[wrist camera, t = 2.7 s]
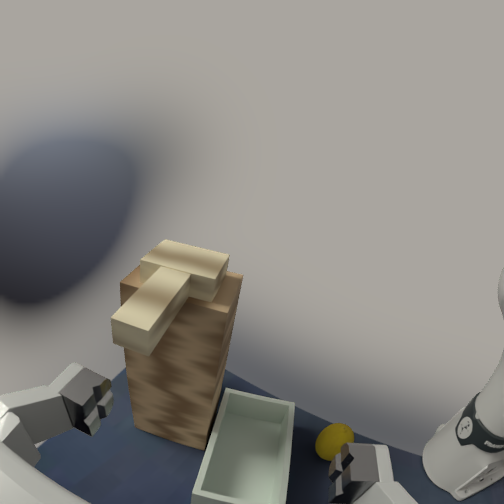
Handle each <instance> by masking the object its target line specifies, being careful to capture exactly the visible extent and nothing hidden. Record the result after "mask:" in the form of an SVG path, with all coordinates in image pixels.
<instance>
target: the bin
mask: <svg viewBox="0 0 504 504" xmlns="http://www.w3.org/2000/svg"><path fill="white" fill-rule="evenodd" d="M294 408H295V403H294V402H288V401H283V400H278V399H273V398H268V397H263V396H259V395H254V394H250V393H246V392H241V391H237V390H233V389H229V388H226V389H225V392H224V395H223V399H222V402H221V405H220V408H219V411H218V414H217V418H216V421H215V424H214V427H213V430H212V433H211V436H210V440H209V443H208V446H207V449H206V452H205V455H204V458H203V461H202V464H201V467H200V470H199V474H198V477H197V480H196V483H195V486H194V489H193V492H192V498H191V504H285V503H286V495H287V486H288V477H289V467H290V457H291V446H292V434H293V422H294Z"/></svg>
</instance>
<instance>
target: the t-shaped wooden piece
mask: <svg viewBox="0 0 504 504" xmlns="http://www.w3.org/2000/svg"><path fill="white" fill-rule="evenodd" d="M229 256H230V255H229V254H225V253H221V252H216V251H212V250H208V249H204V248H199V247H196V246H191V245H187V244H183V243H178V242H175V241H171V240H166V239H165V240H164V241H162V242H161V243H160V244H159V245H158V246H156V247H155V248H154V249H153V250H151V251H150V252H149V253H148V254H147V255H145V256H144V257H143V258H142V259H140V283H144V284H143V285H142V286H141V287H140V288H139V289H138V290H137V291H136V292H135V293H134V294H133V295H132V296H131V297H130V298H129V299H128V300H127V301H126V302H125V303H124V304H123V305H122V306H121V307H120V309H119V310H118V311H117V312H116V313H115V314H114V315H113V316H112V317H111V326H112V336H113V343H114V344H117V345H119V346H122V347H124V348H127V349H129V350H132V351H135V352H138V353H140V354H143V355H146V356H150V354H151V353H152V351H153V350H154V348H155V347H156V345H157V344H158V342H159V341H160V339H161V338H162V336H163V334H164V333H165V331H166V330H167V328H168V327H169V325H170V324H171V322H172V321H173V319H174V318H175V316H176V315H177V313H178V312H179V310H180V309H181V307H182V306H183V304H184V303H185V302H186V300H187V299H188V297H193V298H196V299H200V300H204V301H208V302H211V303H212V301H213V299H214V297H215V295H216V293H217V292H218V290H219V288H220V286H221V284H222V282H223V280H224V278H225V276H226V273H227V267H228V261H229Z"/></svg>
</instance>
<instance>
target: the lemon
mask: <svg viewBox="0 0 504 504" xmlns="http://www.w3.org/2000/svg"><path fill="white" fill-rule="evenodd" d="M346 442H347V443H353V442H354V433H353V431H352V429H351V428H350V427H349V426H347V425H345V424H341V423H335V424H331V425H329V426H328V427H326V428H325V429H324V430H323V431H322V432H321V433H320V434H319V435H318V437H317V440H316V444H315V448H316V452H317V454H318V455H319V456H320V457H321V458H323V459H325V460H328V461H332V459H333V458H334V456H335V455H337V454H339V453H341V447H342V446H343V444H345V443H346Z"/></svg>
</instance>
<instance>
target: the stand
mask: <svg viewBox="0 0 504 504" xmlns="http://www.w3.org/2000/svg"><path fill="white" fill-rule="evenodd" d="M242 279H243V275H241V274H237V273H233V272H228V271H227V273H226V276H225V278H224V280H223V282H222V284H221V286H220V288H219V290H218V292H217V293H216V295H215V297H214V299H213V301H212V303H211V302H208V301H204V300H200V299H196V298H193V297H188V299H187V300H186V302H185V303H184V304H183V306H182V307H181V309H180V310H179V312H178V313H177V315H176V316H175V318H174V319H173V321H172V322H171V324H170V325H169V327H168V328H167V330H166V331H165V333H164V334H163V336H162V338H161V339H160V341H159V342H158V344H157V345H156V347H155V348H154V350H153V351H152V353H151V354H150V356H146V355H143V354H140V353H138V352H135V351H132V350H129V349H127V348H124V353H125V362H126V371H127V379H128V386H129V393H130V400H131V406H132V412H133V418H134V423H135V427H136V428H138V429H141V430H143V431H146V432H149V433H151V434H154V435H157V436H160V437H162V438H165V439H168V440H171V441H174V442H177V443H180V444H183V445H187V446H190V447H193V448H197V449H200V450H205V447H206V444H207V441H208V438H209V434H210V431H211V428H212V425H213V422H214V419H215V416H216V413H217V408H218V402H219V397H220V392H221V387H222V382H223V376H224V371H225V366H226V361H227V356H228V351H229V345H230V340H231V334H232V330H233V325H234V319H235V315H236V309H237V304H238V299H239V294H240V289H241V283H242ZM143 284H144V283H140V265H139V266H138V267H137V268H136V269H134V270H133V271H132V272H131V273H130V274H129V275H128V276H126V277H125V278H124V279H123V280H122V281H121V282H120V296H121V306H122V305H123V304H124V303H125V302H126V301H127V300H128V299H129V298H130V297H131V296H132V295H133V294H134V293H135V292H136V291H137V290H138V289H139V288H140V287H141V286H142V285H143Z"/></svg>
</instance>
